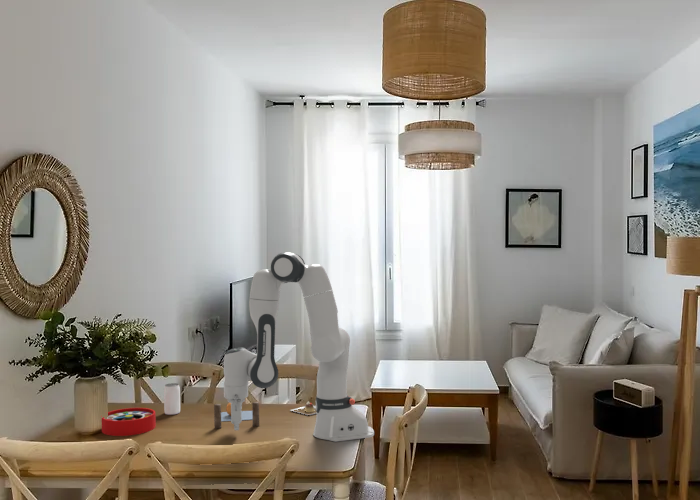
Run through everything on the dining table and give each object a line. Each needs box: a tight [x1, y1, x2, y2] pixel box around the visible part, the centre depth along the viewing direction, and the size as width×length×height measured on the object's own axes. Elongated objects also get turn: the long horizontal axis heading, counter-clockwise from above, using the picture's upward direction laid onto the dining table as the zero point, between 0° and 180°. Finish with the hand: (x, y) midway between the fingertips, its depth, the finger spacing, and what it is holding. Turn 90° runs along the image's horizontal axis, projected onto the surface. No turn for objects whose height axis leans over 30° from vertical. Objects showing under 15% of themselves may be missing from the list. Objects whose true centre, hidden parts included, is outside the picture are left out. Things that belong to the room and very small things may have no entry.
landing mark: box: [221, 410, 253, 423], centre depth 281 cm, size 14×14×1 cm
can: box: [163, 382, 181, 416], centre depth 287 cm, size 6×6×12 cm
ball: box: [225, 402, 231, 416], centre depth 281 cm, size 6×6×6 cm
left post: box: [213, 403, 222, 430], centre depth 264 cm, size 3×3×9 cm
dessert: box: [289, 400, 317, 416], centre depth 288 cm, size 12×12×5 cm
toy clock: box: [101, 407, 157, 437], centre depth 265 cm, size 20×6×20 cm
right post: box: [251, 401, 260, 428], centre depth 266 cm, size 3×3×9 cm
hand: (236, 429), depth 252 cm, fingers closed
